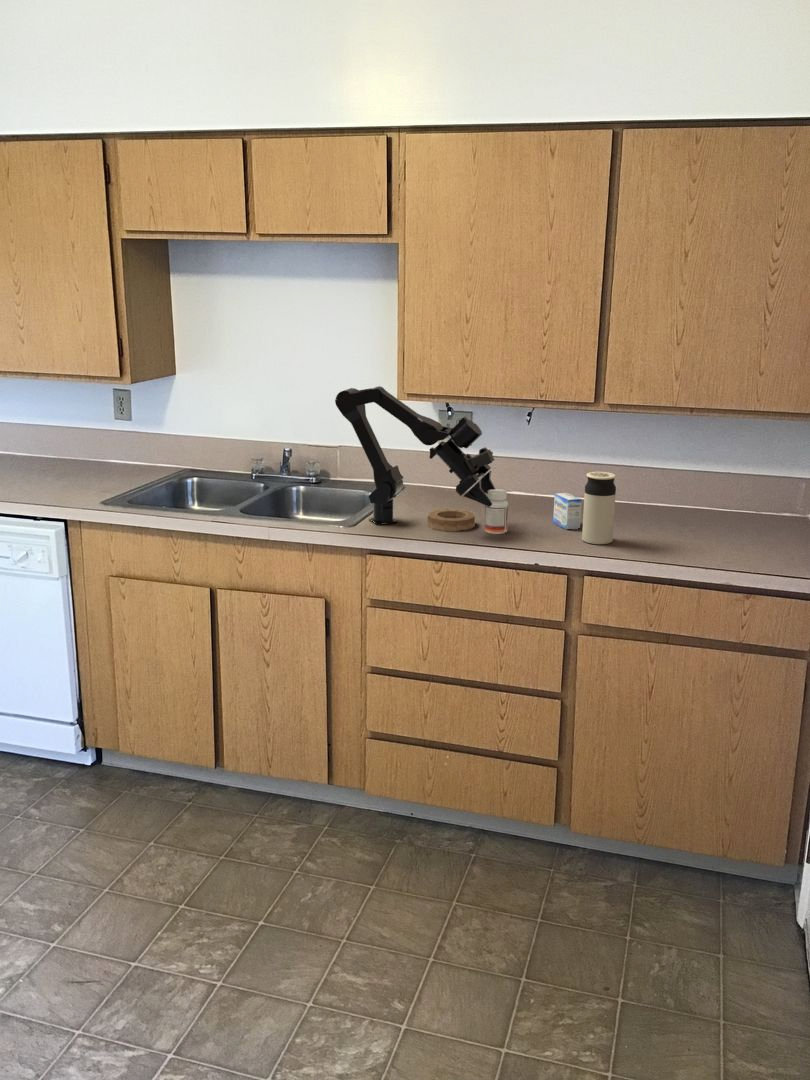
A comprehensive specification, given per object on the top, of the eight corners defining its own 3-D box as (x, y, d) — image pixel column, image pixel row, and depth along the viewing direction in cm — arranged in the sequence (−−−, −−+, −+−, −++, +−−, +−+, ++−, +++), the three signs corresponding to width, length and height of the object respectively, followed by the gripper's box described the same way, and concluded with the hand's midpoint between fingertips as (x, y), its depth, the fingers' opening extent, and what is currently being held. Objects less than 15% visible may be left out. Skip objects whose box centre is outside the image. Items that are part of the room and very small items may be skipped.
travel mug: (590, 546, 262) (594, 478, 257) (576, 538, 269) (580, 472, 264) (617, 543, 264) (622, 476, 259) (603, 535, 271) (607, 470, 266)
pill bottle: (493, 527, 279) (495, 487, 276) (511, 531, 275) (513, 491, 272) (480, 531, 275) (481, 491, 271) (497, 535, 271) (499, 495, 267)
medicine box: (552, 523, 283) (553, 493, 281) (566, 522, 285) (568, 492, 283) (566, 530, 276) (568, 499, 274) (580, 529, 278) (582, 498, 275)
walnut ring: (420, 521, 284) (420, 511, 283) (460, 517, 289) (461, 507, 289) (441, 533, 273) (441, 522, 272) (483, 528, 278) (483, 517, 277)
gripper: (468, 446, 261) (509, 490, 261) (484, 434, 278) (522, 475, 278) (438, 473, 265) (478, 517, 265) (456, 460, 282) (493, 501, 282)
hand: (494, 501), depth 273 cm, fingers open, 9 cm apart
